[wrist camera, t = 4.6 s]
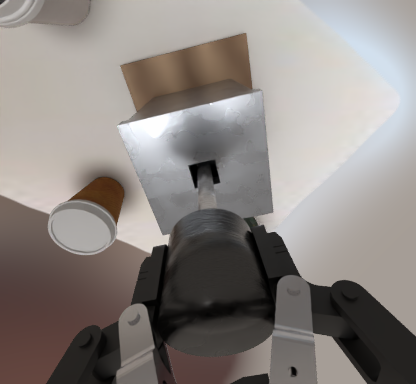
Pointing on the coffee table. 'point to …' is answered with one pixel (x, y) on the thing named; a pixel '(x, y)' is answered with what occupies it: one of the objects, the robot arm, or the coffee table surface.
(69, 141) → the coffee table surface
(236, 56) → the walnut board
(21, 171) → the coffee table surface
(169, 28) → the coffee table surface
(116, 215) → the disposable coffee cup
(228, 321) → the plunger
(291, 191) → the coffee table surface
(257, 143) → the silver block with slot
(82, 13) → the coffee cup
